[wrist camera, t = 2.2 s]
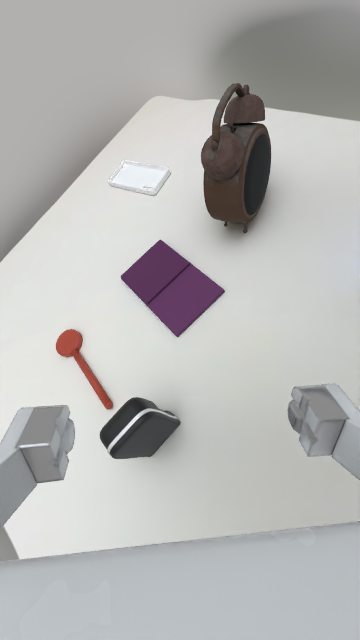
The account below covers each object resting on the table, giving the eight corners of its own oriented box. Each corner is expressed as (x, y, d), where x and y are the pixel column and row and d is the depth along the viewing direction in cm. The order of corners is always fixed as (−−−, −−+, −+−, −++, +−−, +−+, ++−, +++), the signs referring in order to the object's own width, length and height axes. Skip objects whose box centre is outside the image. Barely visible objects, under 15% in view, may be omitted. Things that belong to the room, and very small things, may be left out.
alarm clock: (251, 246, 49) (233, 136, 32) (214, 240, 52) (179, 137, 35) (279, 183, 52) (276, 54, 35) (242, 181, 56) (223, 61, 38)
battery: (166, 403, 43) (130, 389, 33) (183, 421, 41) (150, 412, 31) (134, 438, 42) (88, 434, 32) (149, 458, 40) (106, 461, 30)
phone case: (172, 172, 64) (126, 164, 71) (169, 167, 63) (123, 159, 70) (154, 196, 62) (109, 185, 70) (152, 191, 61) (106, 181, 68)
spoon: (75, 325, 55) (71, 323, 54) (124, 397, 45) (120, 395, 44) (55, 344, 54) (50, 342, 53) (100, 419, 45) (96, 419, 44)
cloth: (162, 242, 56) (160, 238, 55) (224, 291, 47) (223, 288, 46) (122, 279, 56) (119, 276, 55) (177, 337, 46) (175, 334, 45)
